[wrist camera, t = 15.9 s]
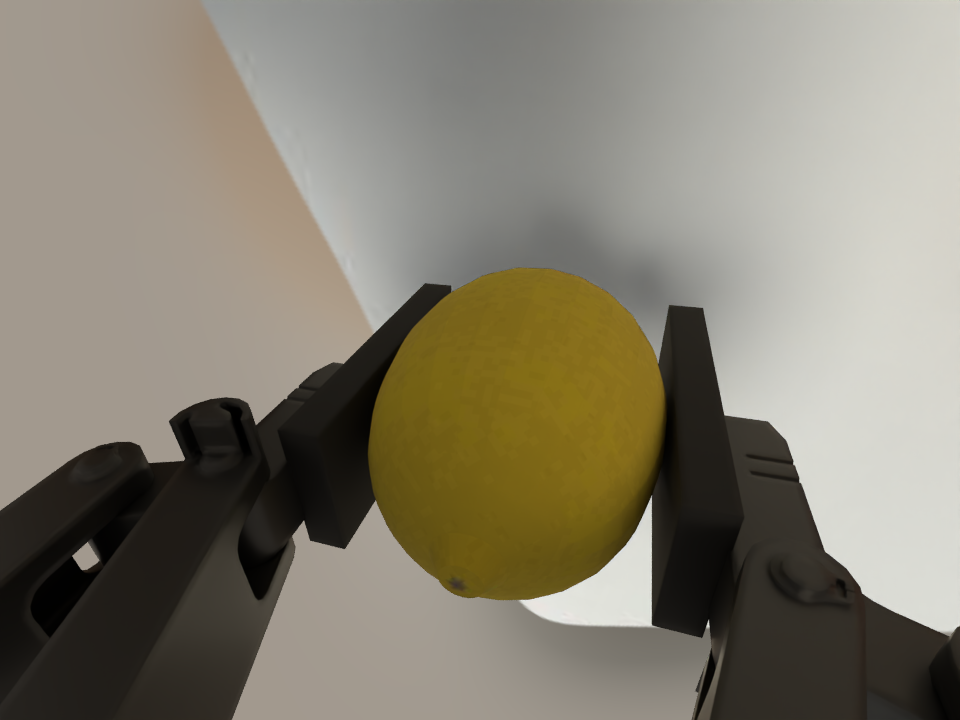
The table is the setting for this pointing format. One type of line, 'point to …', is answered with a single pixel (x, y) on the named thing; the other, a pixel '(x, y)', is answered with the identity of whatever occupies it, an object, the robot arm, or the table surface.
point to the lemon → (518, 435)
